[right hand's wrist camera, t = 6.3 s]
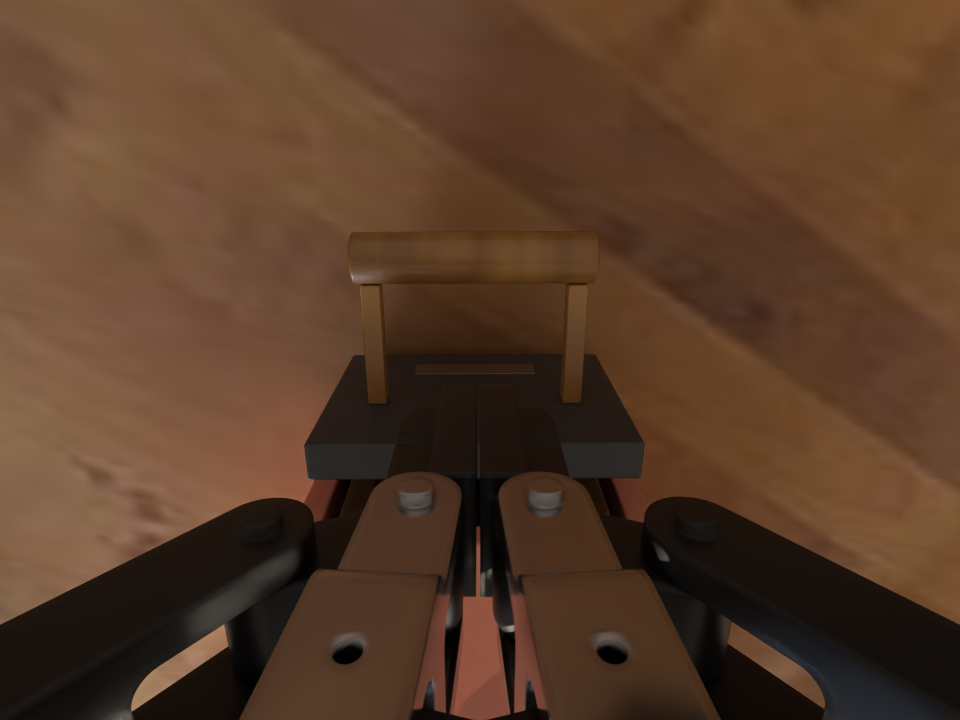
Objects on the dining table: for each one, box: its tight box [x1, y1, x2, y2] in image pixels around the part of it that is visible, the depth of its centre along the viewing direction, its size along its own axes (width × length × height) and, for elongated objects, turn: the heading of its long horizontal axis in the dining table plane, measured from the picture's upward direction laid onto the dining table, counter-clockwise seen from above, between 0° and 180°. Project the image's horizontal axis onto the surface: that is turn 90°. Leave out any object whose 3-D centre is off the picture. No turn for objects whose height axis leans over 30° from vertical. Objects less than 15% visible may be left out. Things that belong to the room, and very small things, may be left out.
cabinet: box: [304, 478, 648, 720], centre depth 25 cm, size 20×11×9 cm, turn 0°
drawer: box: [304, 231, 644, 527], centre depth 22 cm, size 25×10×7 cm, turn 0°
